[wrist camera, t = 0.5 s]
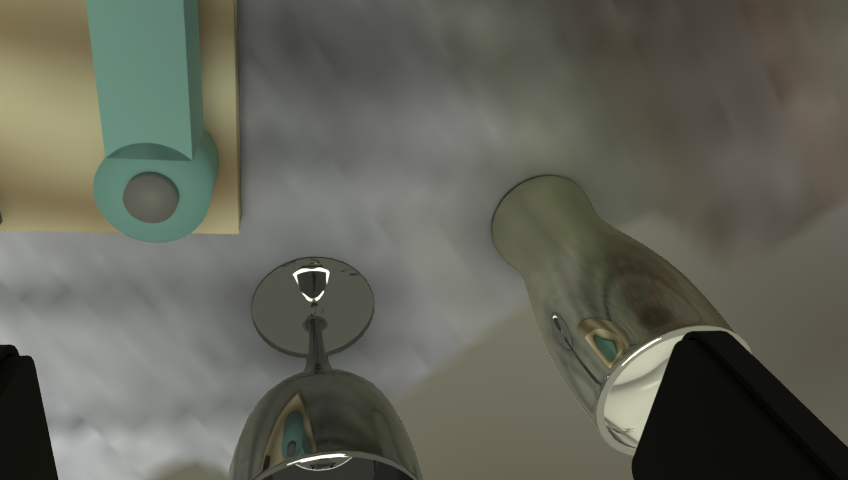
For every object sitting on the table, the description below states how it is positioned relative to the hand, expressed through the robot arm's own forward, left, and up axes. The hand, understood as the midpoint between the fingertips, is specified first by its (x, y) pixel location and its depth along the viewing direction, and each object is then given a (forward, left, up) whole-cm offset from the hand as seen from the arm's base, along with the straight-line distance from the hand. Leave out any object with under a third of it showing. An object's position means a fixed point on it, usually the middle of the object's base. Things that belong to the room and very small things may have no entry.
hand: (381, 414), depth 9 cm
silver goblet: (+15, 0, -24) cm, 28 cm away
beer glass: (+9, +13, -24) cm, 29 cm away
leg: (0, -7, -22) cm, 23 cm away
